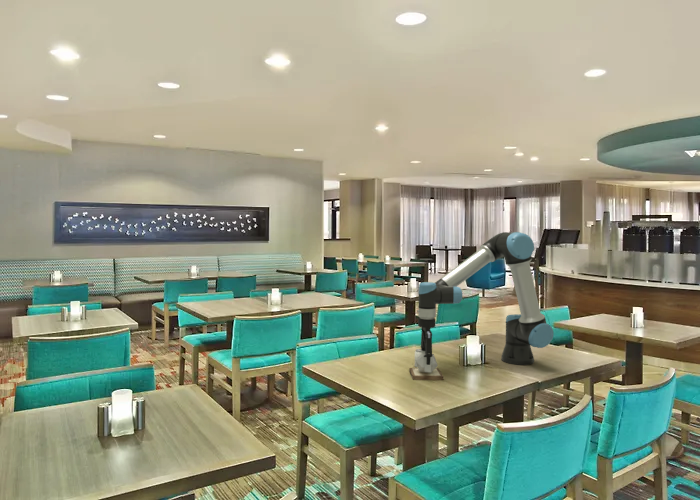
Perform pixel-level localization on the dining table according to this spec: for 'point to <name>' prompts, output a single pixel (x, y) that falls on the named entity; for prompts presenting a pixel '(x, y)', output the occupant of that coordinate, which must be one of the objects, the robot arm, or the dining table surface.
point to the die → (421, 363)
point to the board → (426, 374)
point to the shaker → (417, 355)
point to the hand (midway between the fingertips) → (426, 368)
